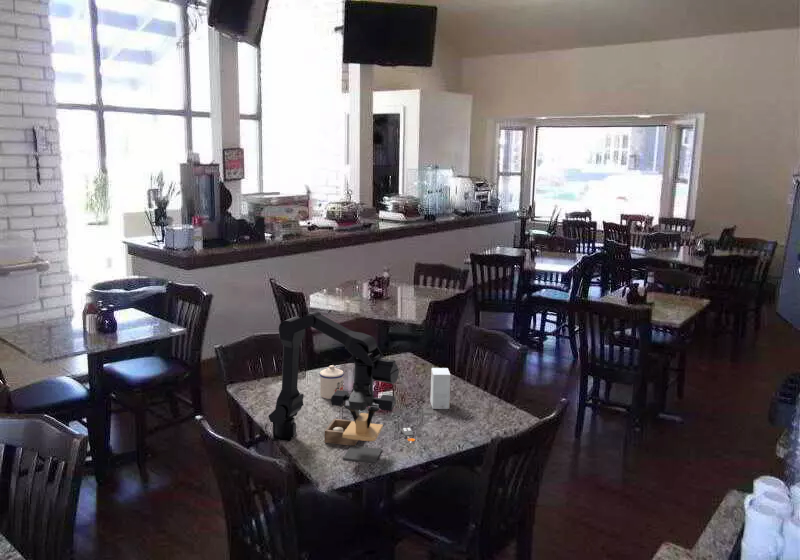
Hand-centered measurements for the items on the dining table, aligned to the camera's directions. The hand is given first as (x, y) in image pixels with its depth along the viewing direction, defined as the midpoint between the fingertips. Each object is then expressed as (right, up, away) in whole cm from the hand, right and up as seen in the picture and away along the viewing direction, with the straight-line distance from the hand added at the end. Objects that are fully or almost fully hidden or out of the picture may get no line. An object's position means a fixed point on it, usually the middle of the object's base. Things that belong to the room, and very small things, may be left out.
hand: (362, 427), depth 204 cm
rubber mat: (0, -9, +2) cm, 9 cm away
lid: (0, -3, +1) cm, 3 cm away
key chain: (+14, -7, +15) cm, 22 cm away
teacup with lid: (-14, +1, +52) cm, 54 cm away
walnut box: (-7, -6, +14) cm, 16 cm away
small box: (+26, -2, +43) cm, 50 cm away
